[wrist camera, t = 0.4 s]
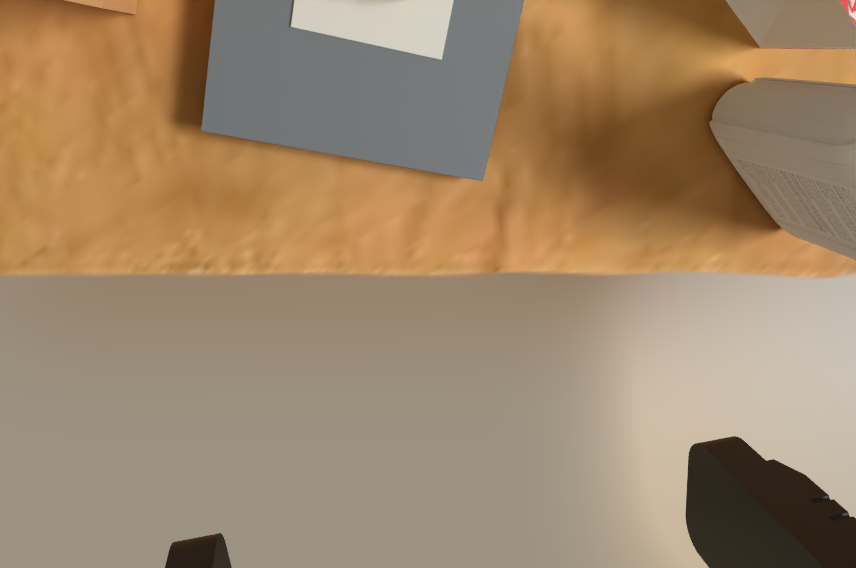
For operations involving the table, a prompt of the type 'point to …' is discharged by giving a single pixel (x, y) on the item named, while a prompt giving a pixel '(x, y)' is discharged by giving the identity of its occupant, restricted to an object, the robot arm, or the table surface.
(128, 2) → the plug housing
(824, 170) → the photo printer
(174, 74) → the table surface
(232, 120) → the board
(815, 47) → the red and white cube
